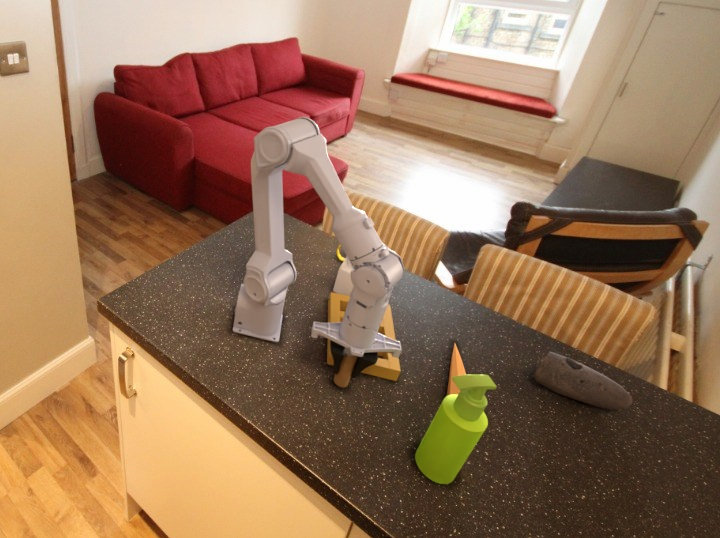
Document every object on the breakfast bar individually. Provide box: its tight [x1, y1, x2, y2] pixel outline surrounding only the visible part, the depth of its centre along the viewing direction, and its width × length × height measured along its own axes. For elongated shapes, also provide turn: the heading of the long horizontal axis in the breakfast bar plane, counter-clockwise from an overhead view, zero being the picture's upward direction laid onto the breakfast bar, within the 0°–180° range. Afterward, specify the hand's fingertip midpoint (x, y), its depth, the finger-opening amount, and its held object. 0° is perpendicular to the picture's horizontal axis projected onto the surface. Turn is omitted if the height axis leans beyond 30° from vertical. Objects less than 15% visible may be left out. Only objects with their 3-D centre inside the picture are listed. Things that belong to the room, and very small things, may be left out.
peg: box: [333, 347, 358, 388], centre depth 79 cm, size 3×3×8 cm
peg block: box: [326, 291, 401, 382], centre depth 91 cm, size 13×18×3 cm
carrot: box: [446, 342, 467, 396], centre depth 84 cm, size 20×4×4 cm, turn 155°
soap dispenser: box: [414, 373, 498, 485], centre depth 65 cm, size 6×7×20 cm
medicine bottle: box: [332, 256, 354, 296], centre depth 102 cm, size 7×7×12 cm
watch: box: [335, 244, 346, 262], centre depth 113 cm, size 6×3×6 cm, turn 59°
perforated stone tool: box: [534, 351, 634, 411], centre depth 82 cm, size 15×5×7 cm, turn 59°
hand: (343, 371), depth 80 cm, fingers closed on peg, 2 cm apart
